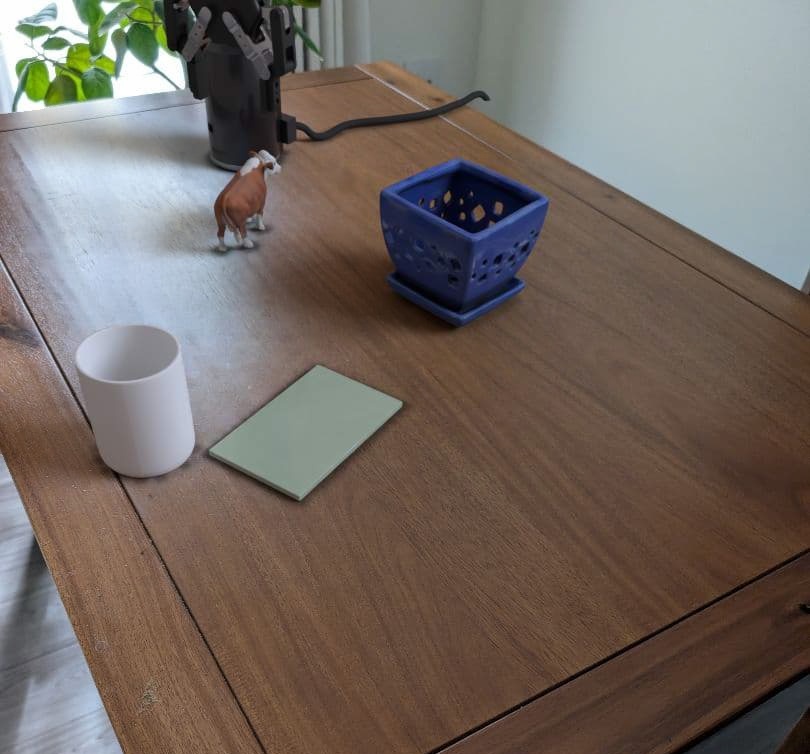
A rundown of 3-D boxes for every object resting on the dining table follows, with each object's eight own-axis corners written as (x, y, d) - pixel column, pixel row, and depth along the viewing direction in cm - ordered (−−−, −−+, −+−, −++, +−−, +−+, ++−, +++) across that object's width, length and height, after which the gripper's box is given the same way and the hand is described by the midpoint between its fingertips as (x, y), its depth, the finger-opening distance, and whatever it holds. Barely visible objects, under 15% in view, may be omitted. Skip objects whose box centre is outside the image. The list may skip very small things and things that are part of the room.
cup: (93, 481, 73) (64, 383, 65) (112, 394, 81) (89, 299, 73) (193, 479, 73) (176, 382, 66) (202, 393, 82) (187, 298, 74)
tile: (318, 369, 85) (317, 364, 85) (402, 406, 82) (402, 401, 81) (209, 455, 76) (208, 450, 75) (299, 501, 72) (299, 496, 72)
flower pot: (537, 299, 96) (556, 195, 88) (461, 345, 89) (473, 237, 81) (448, 254, 102) (458, 153, 94) (370, 294, 95) (373, 188, 87)
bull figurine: (289, 213, 107) (286, 147, 101) (240, 263, 98) (233, 194, 92) (257, 206, 108) (252, 140, 102) (206, 255, 99) (197, 186, 93)
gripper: (306, -71, 81) (310, 109, 93) (180, -94, 85) (199, 82, 97) (264, -56, 77) (274, 131, 88) (133, -81, 80) (159, 102, 92)
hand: (235, 105), depth 92 cm, fingers open, 8 cm apart
